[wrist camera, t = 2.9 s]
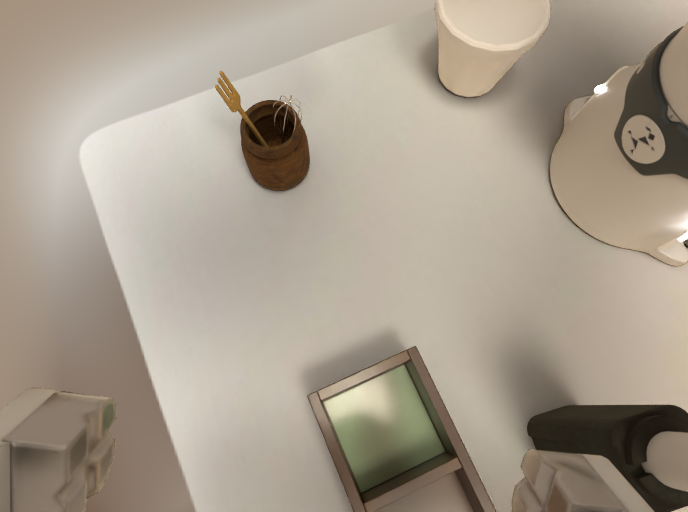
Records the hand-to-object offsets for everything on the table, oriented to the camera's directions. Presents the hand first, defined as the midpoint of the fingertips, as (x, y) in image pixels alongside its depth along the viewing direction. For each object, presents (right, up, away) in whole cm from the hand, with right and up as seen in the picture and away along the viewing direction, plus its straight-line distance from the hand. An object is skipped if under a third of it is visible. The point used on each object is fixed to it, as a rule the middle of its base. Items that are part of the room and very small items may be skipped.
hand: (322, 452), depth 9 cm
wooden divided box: (+5, -14, +29) cm, 32 cm away
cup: (+13, +23, +41) cm, 48 cm away
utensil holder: (-6, +13, +37) cm, 40 cm away
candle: (+18, -11, +30) cm, 37 cm away
